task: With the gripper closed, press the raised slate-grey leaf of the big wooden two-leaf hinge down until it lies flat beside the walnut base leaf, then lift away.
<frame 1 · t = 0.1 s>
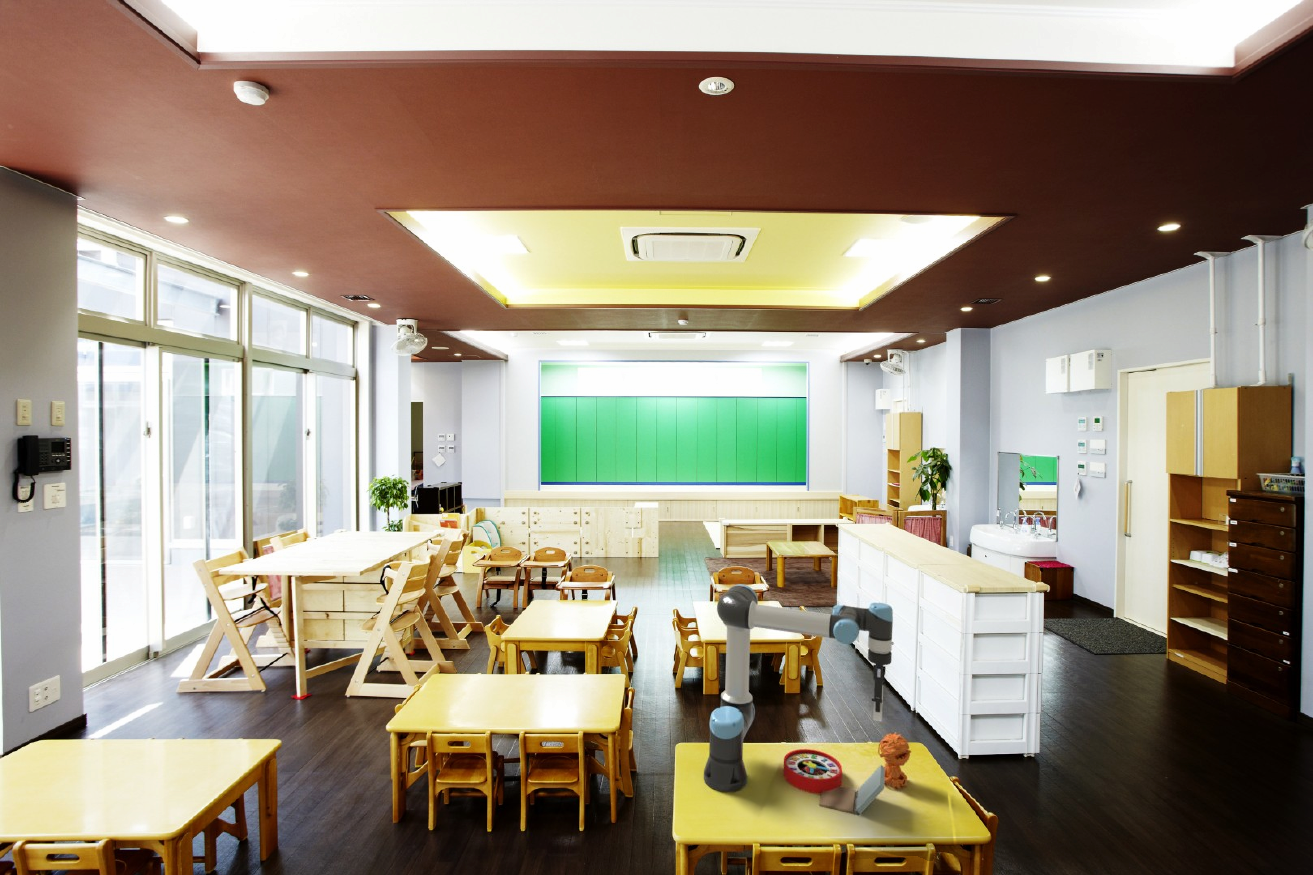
hand: (877, 711, 212), 28 cm above the table, tool pointing down, fingers open, 13 cm apart
hinge leaf: (869, 790, 204), point 6 cm above the table, hinge at 55.0°
orange figurine: (893, 785, 218), on the table
hinge base: (838, 801, 207), on the table
toy clock: (812, 780, 220), on the table, touching hinge base
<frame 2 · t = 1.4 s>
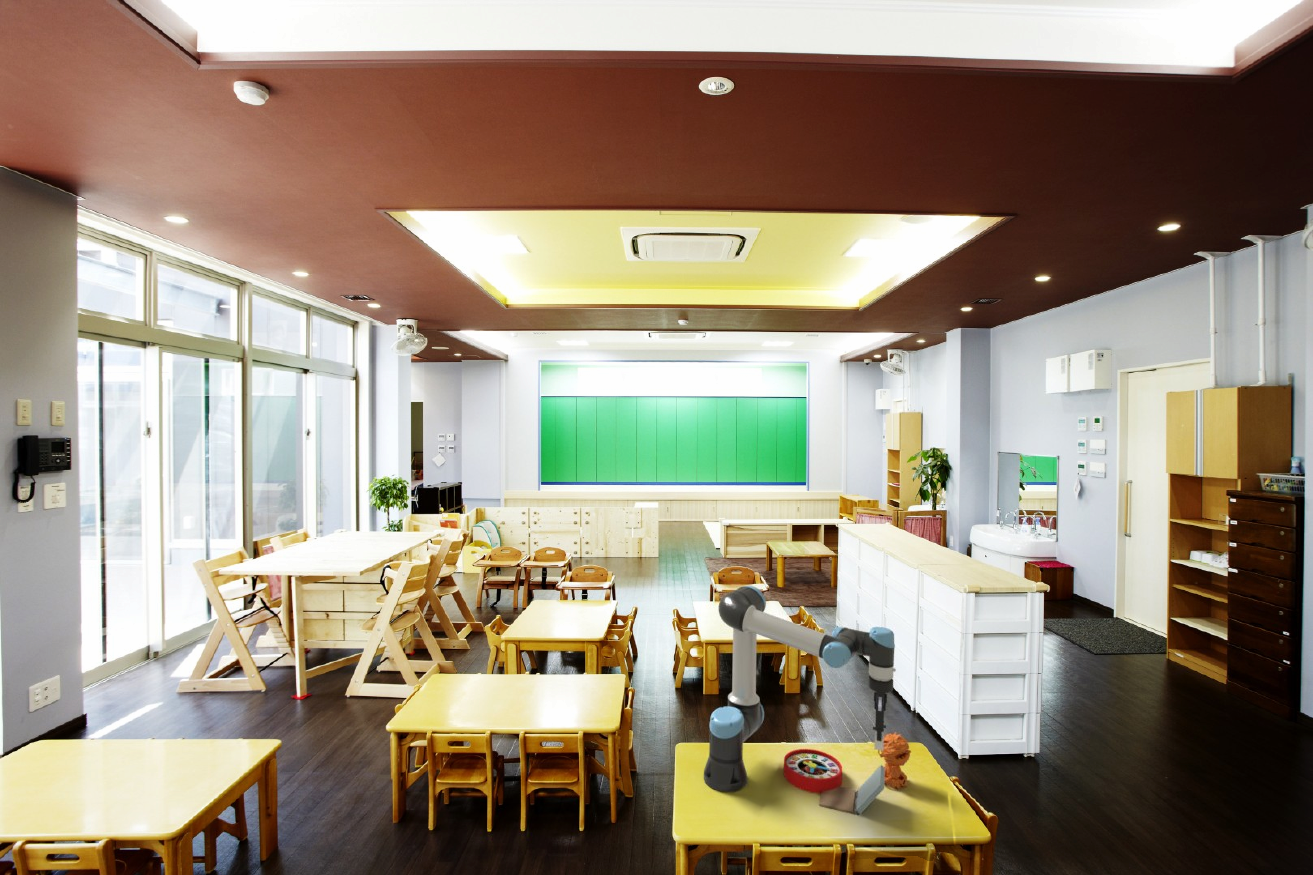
hand: (878, 748, 202), 20 cm above the table, tool pointing down, fingers closed
nothing on the table moved.
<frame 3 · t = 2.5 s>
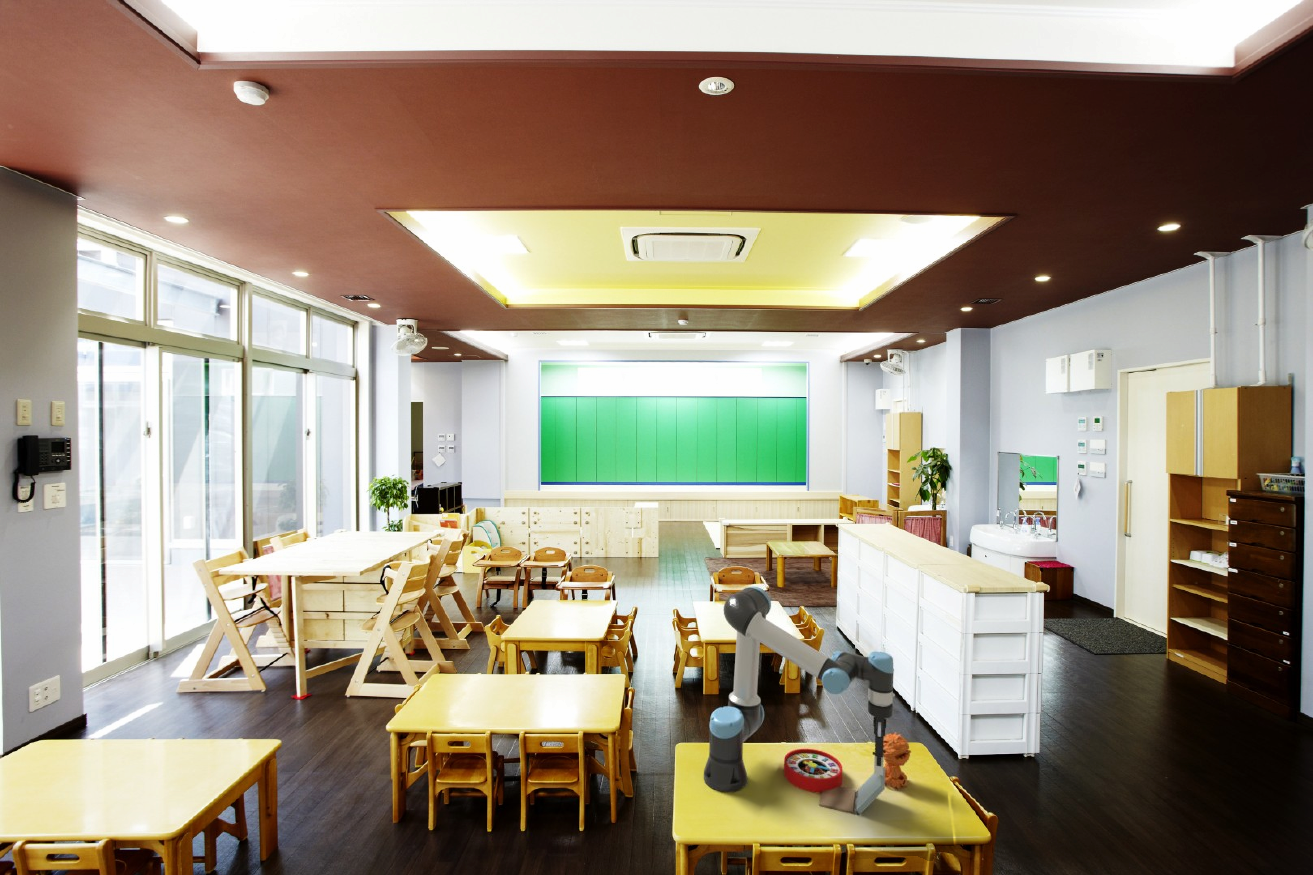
hand: (878, 773, 202), 12 cm above the table, tool pointing down, fingers closed
hinge leaf: (869, 790, 204), point 6 cm above the table, hinge at 54.3°, touching gripper
toy clock: (812, 780, 220), on the table
everything else where it was.
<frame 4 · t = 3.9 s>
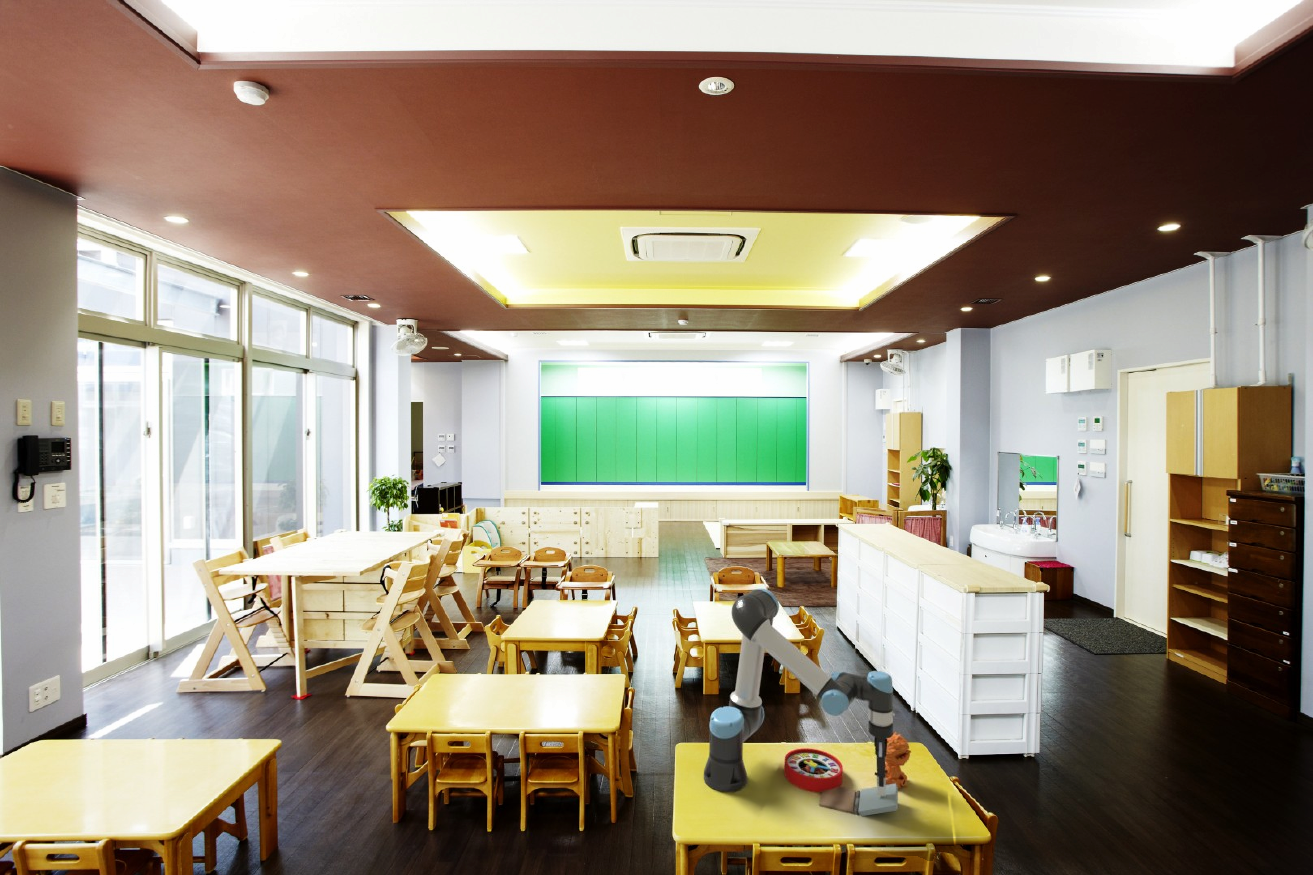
hand: (881, 794, 202), 6 cm above the table, tool pointing down, fingers closed
hinge leaf: (875, 799, 203), point 3 cm above the table, hinge at 23.4°, touching gripper
toy clock: (812, 779, 221), on the table, touching hinge base
everything else where it was.
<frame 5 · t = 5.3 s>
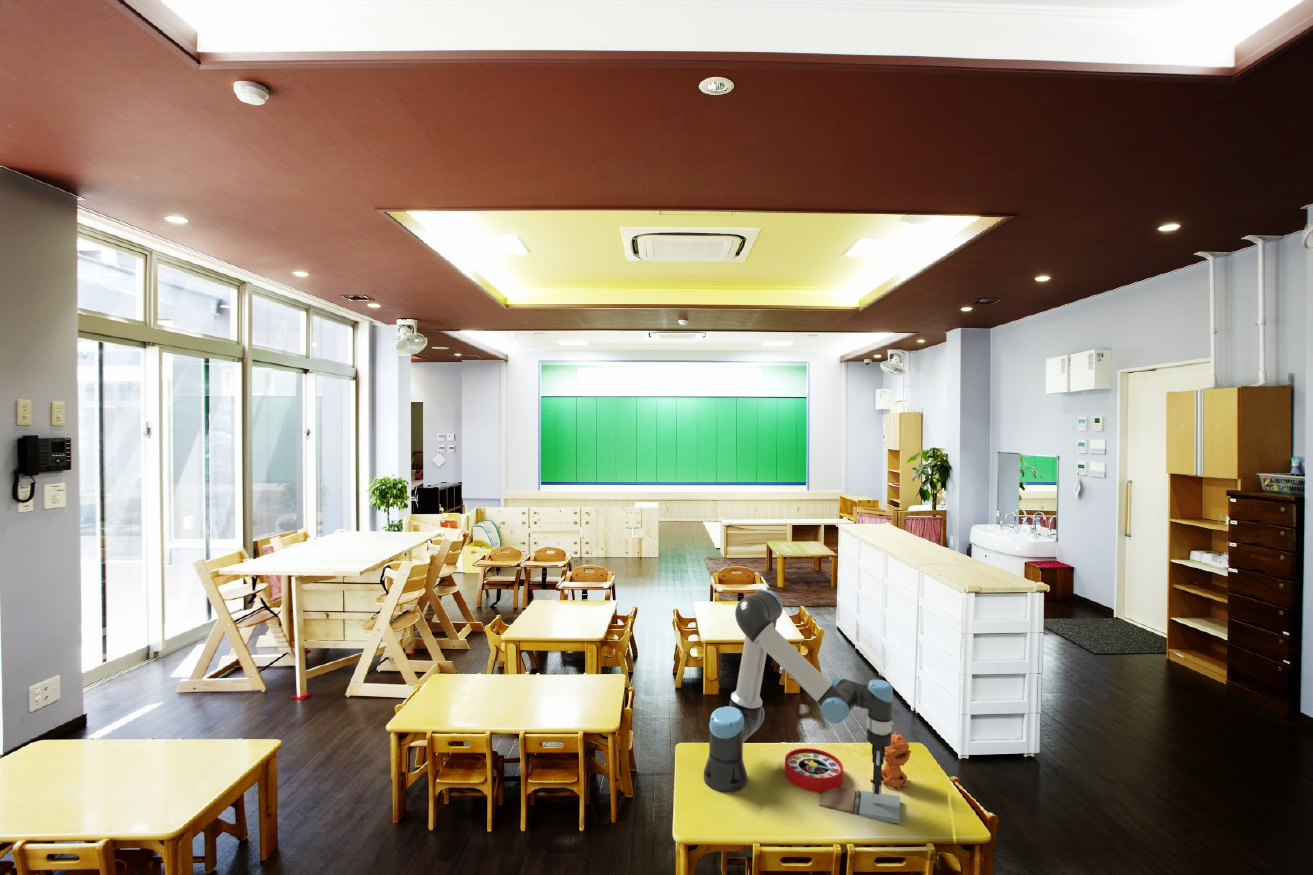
hand: (876, 801, 203), 3 cm above the table, tool pointing down, fingers closed
hinge leaf: (877, 805, 203), point 1 cm above the table, hinge at 5.0°
toy clock: (813, 779, 221), on the table
everything else where it was.
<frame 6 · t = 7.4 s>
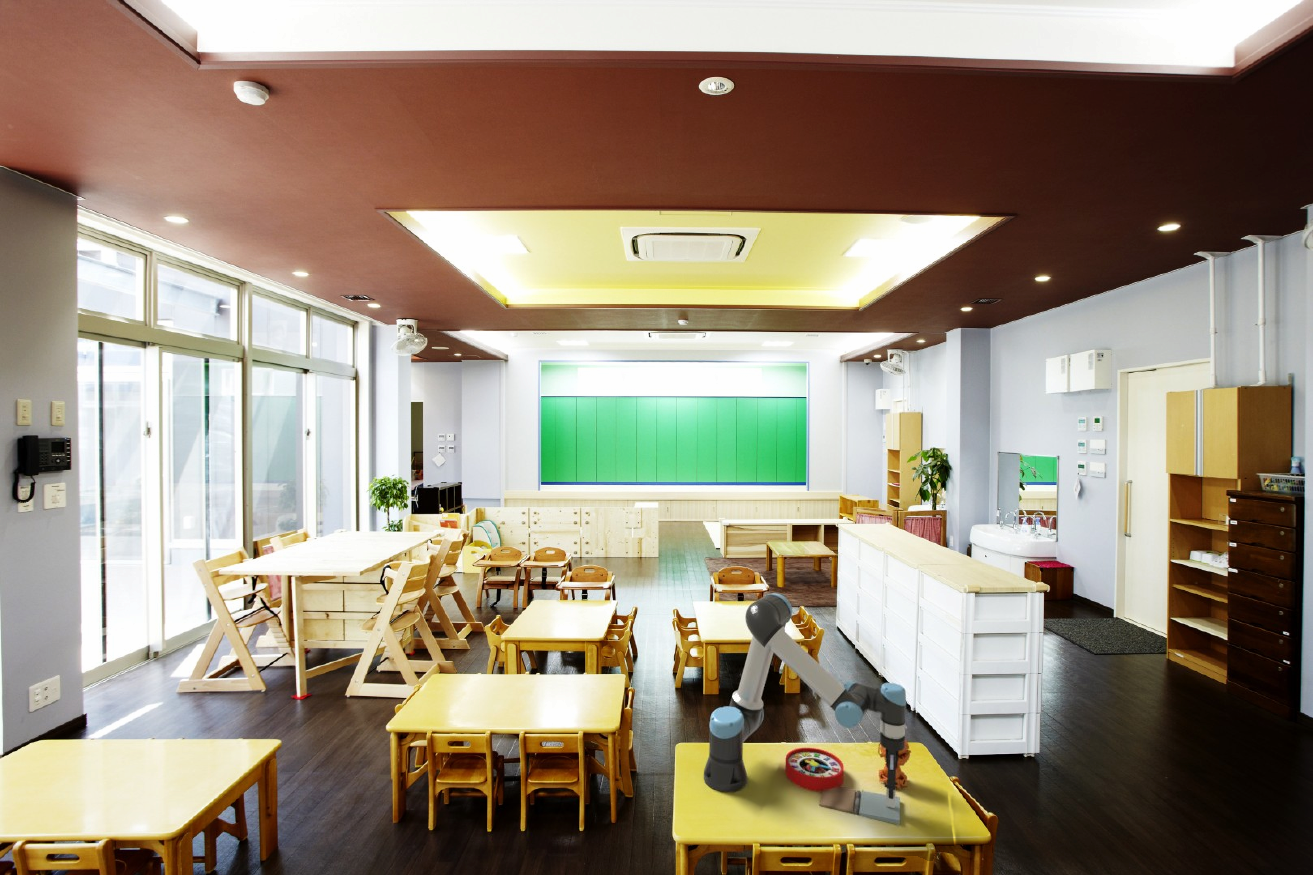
hand: (890, 805, 201), 2 cm above the table, tool pointing down, fingers closed
hinge leaf: (877, 806, 203), point 1 cm above the table, hinge at 3.1°, touching gripper
toy clock: (813, 778, 221), on the table, touching hinge base
everything else where it was.
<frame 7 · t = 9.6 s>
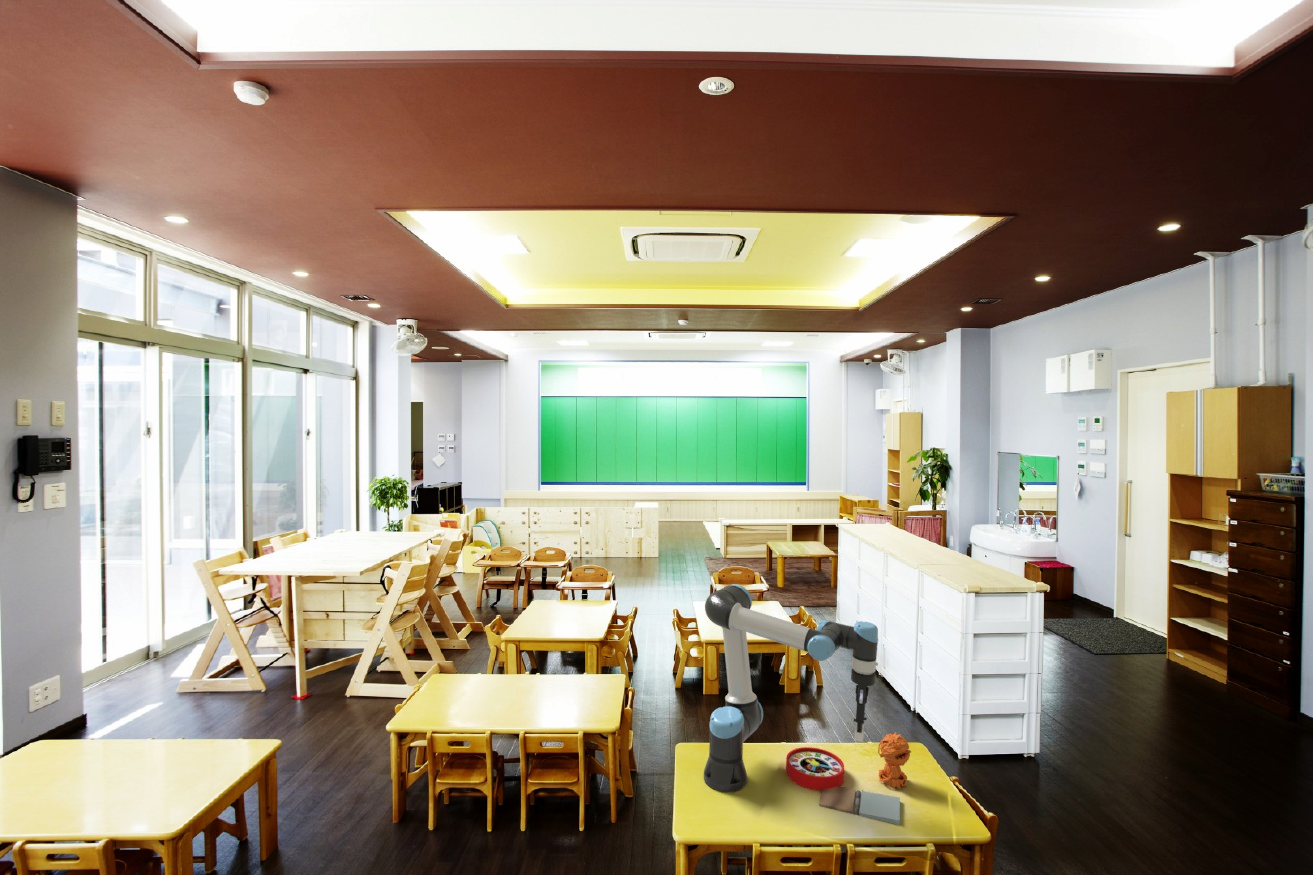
hand: (858, 739, 207), 21 cm above the table, tool pointing down, fingers closed
hinge leaf: (877, 806, 203), point 1 cm above the table, hinge at 2.8°
toy clock: (814, 778, 221), on the table
everything else where it was.
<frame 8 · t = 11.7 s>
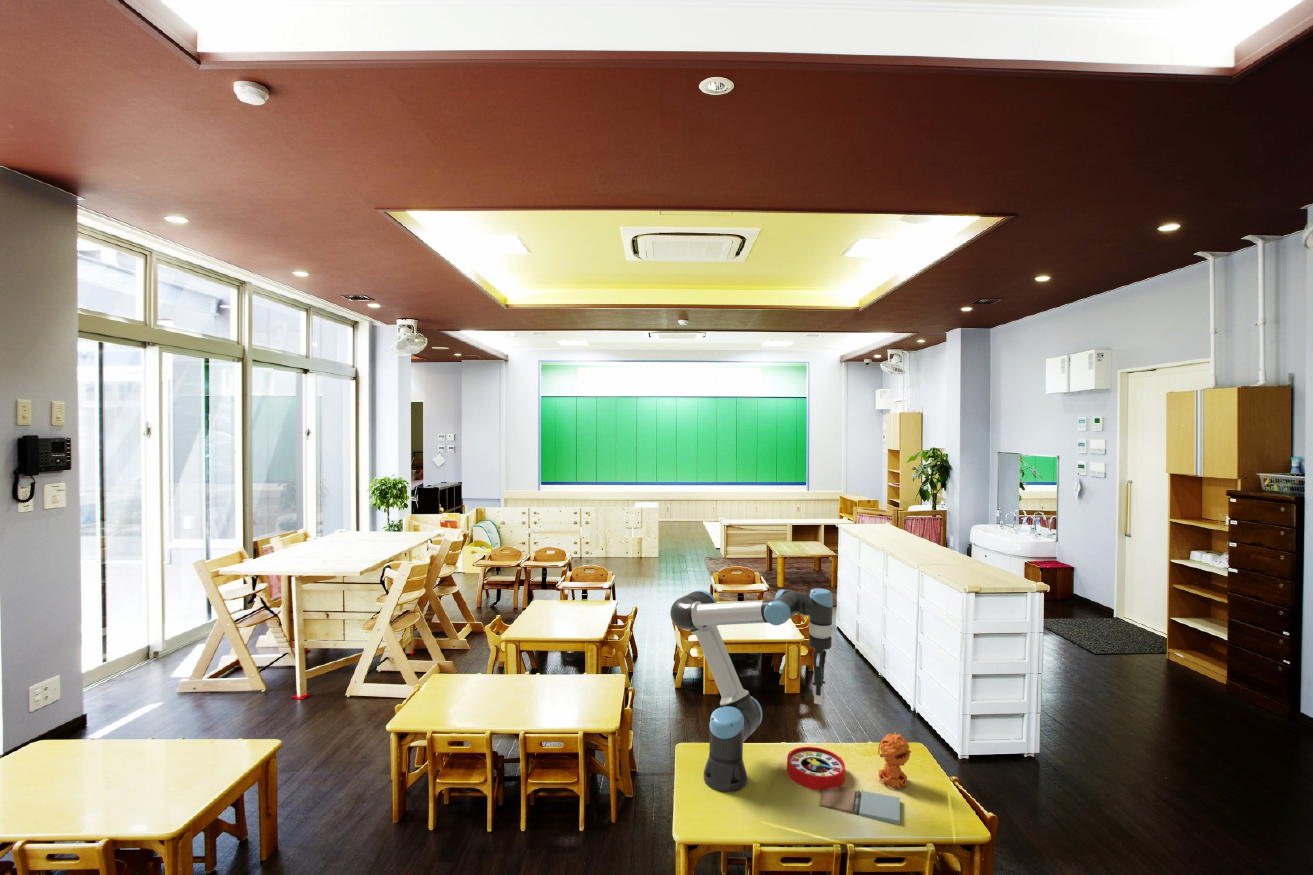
hand: (818, 703, 214), 29 cm above the table, tool pointing down, fingers closed
at the end: hinge leaf at +3° (first picture: +55°); orange figurine moved 0.2 cm from its start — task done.
